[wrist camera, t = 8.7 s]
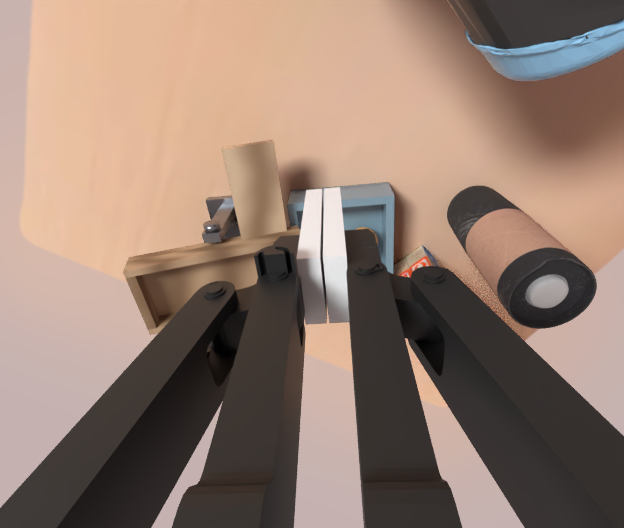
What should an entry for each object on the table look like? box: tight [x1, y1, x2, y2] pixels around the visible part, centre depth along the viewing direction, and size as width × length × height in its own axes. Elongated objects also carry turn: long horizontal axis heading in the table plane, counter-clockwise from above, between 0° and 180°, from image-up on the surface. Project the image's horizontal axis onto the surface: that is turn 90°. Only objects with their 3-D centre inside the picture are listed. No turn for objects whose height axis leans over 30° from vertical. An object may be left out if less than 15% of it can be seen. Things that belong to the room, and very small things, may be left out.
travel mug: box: [447, 186, 597, 329], centre depth 41 cm, size 8×8×20 cm
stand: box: [202, 196, 241, 243], centre depth 49 cm, size 6×14×10 cm, turn 6°
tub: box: [287, 182, 394, 274], centre depth 50 cm, size 13×14×5 cm
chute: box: [123, 140, 300, 335], centre depth 43 cm, size 20×20×6 cm
